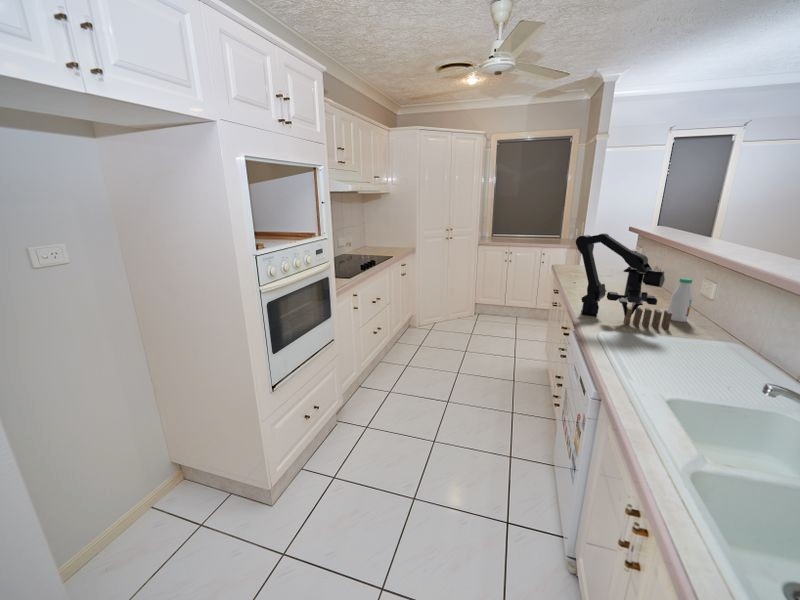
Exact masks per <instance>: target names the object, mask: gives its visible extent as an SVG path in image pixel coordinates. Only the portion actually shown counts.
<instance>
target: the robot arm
mask: <svg viewBox="0 0 800 600" xmlns="http://www.w3.org/2000/svg"><path fill="white" fill-rule="evenodd" d="M597 243H598V244H599V243H601V244H602V245H604V246H605V247H607V248H608V249H610V250H611V251H613V252H614V253H615V254H617V255H618V256H620V257H621V258H622V259H623V260H624V262H625V263H626V264H627V265H628V266H627V268H626V269H624V270H623V272H624V273H627V280H626V284H625V289H624V294H619V293H618V292H616V291H615V292H614V291H607V289H606V285H605V284H606V283H601V281H600V280H599V279H600V278H599V275H598V270H597V266H596V262H595V257H594V253H593V252H594V248H595V244H597ZM575 245H576V248H577V250H578V251H579V253H580V254H581V256H582V260H583V264H584V270H585V274H586V277H587V283H588V284H587V288H586V293H587V294H585V295H584V296H582V297H581V303H582V307H581V310H580V311H581V315H583V316H590V317H591V316H592V317H597V315H598V313H599V310H600V309H599V308H600V307H599V302H600V301H601V300H602V299H603V298H604V297H605V296H606V299H607V300H609V301H612V302H613V301H614V302H615V301H618V302H619V304H621V305H622V310H623V315H624V317H625V316H626V313H627V306H628V304H629V303H630V304H631V306H630V307H631V308H632V315H633V314H635V311H636V308H637V307H640V306H644V304H643V302H646V303H647V305H652V306H656V305H657V304H658V298H656V296H654V295H649V294H648V292H647V291H646V292H644V291H642V285H643V284H644V286H650V287H655V288H662V287H663V285H664V283H665V271H663V270H653V268H652V267H651V266H650V264H649V258H648V257H647V256H646V255H644V254H643V253H640V252H637V251H635V250H632V249H630V248H629V247H626V246H625V245H624V244H623V243H620V242H619V241H617V240H616V239H615V238H613V237H611V236H610V235H609V234H608V233H600V234H596V235H590V234H586V235H585V234H584V235H579V236H578V237H576V239H575ZM606 292H607V293H606Z"/></svg>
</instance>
